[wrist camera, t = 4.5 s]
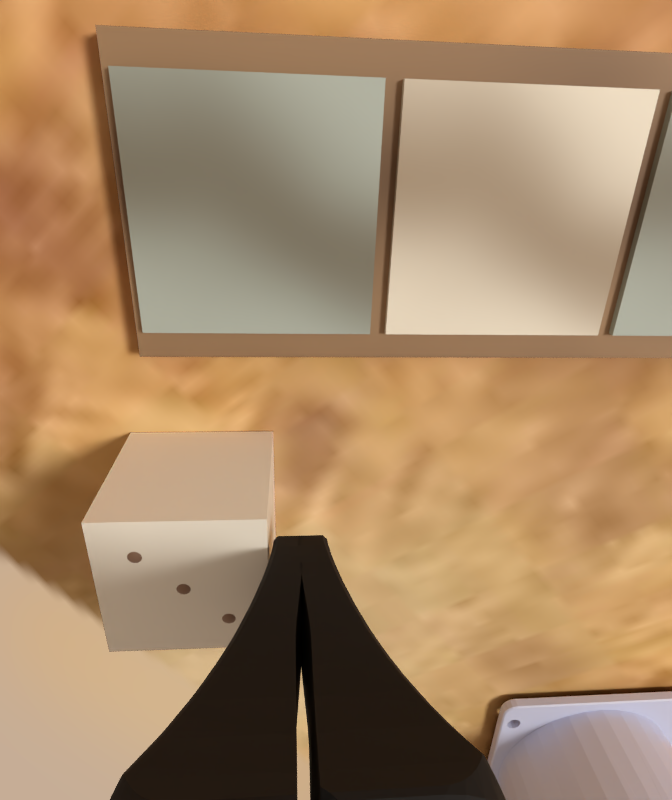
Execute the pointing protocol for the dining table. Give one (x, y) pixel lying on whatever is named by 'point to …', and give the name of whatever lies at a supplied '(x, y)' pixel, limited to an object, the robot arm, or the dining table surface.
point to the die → (181, 537)
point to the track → (390, 196)
